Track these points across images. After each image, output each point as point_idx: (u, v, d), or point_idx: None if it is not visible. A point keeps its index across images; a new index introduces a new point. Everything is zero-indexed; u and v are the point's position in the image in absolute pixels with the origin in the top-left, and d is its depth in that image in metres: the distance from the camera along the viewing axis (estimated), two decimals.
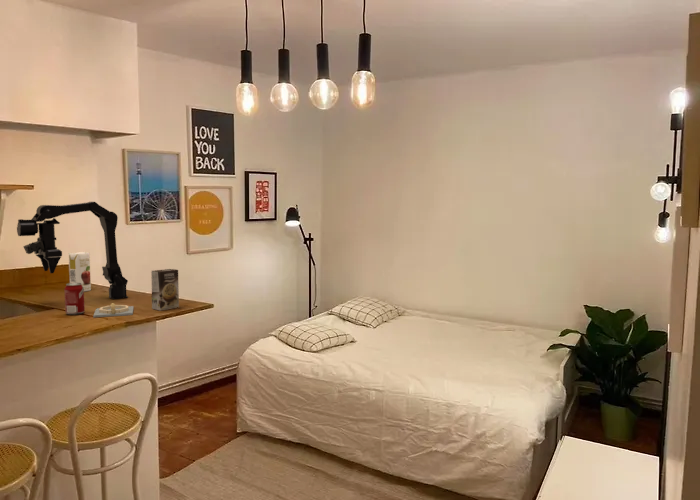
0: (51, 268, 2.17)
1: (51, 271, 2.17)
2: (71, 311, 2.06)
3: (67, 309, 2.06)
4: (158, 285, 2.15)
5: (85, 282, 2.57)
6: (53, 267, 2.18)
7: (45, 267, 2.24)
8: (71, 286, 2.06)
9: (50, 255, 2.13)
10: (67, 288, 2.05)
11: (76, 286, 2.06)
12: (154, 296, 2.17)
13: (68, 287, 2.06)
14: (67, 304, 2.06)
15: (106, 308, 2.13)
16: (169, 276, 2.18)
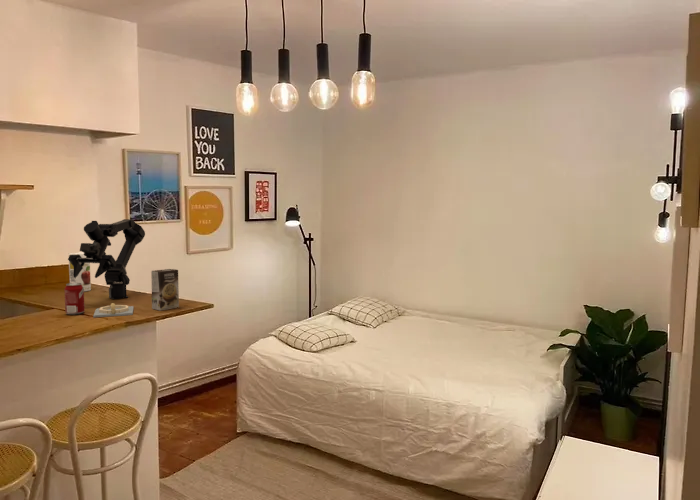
0: (98, 272, 2.17)
1: (97, 275, 2.16)
2: (71, 311, 2.06)
3: (67, 309, 2.06)
4: (158, 285, 2.15)
5: (85, 282, 2.57)
6: (100, 273, 2.18)
7: (76, 274, 2.17)
8: (71, 286, 2.06)
9: (111, 260, 2.19)
10: (67, 288, 2.05)
11: (76, 286, 2.06)
12: (154, 296, 2.17)
13: (68, 287, 2.06)
14: (67, 304, 2.06)
15: (106, 308, 2.13)
16: (169, 276, 2.18)
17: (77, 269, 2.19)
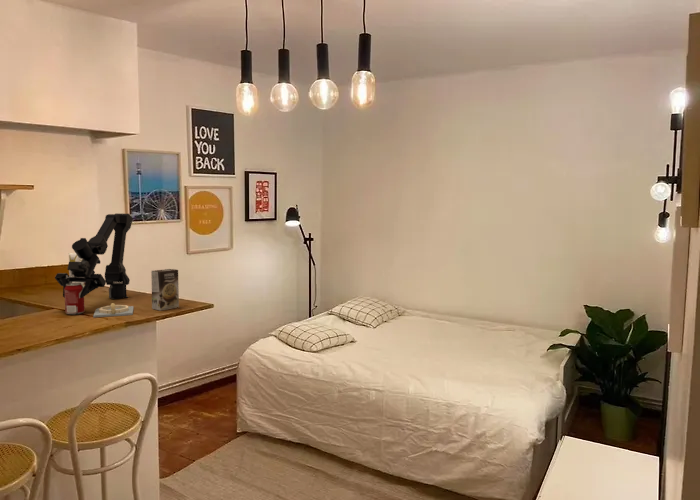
0: (84, 292, 2.08)
1: (82, 295, 2.07)
2: (71, 311, 2.06)
3: (67, 309, 2.06)
4: (158, 285, 2.15)
5: None
6: (86, 293, 2.09)
7: None
8: (71, 286, 2.06)
9: (100, 279, 2.10)
10: (67, 288, 2.05)
11: (76, 286, 2.06)
12: (154, 296, 2.17)
13: (68, 287, 2.06)
14: (67, 304, 2.06)
15: (106, 308, 2.13)
16: (169, 276, 2.18)
17: None
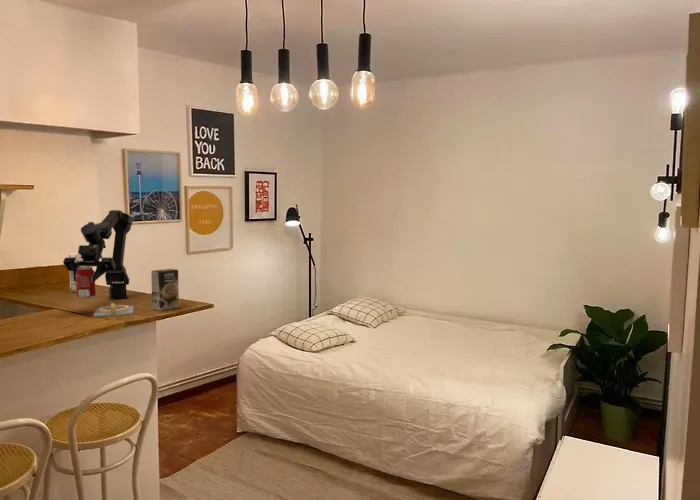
0: (96, 276, 2.08)
1: (94, 279, 2.07)
2: (83, 295, 2.05)
3: (79, 293, 2.05)
4: (158, 285, 2.15)
5: None
6: (97, 276, 2.09)
7: None
8: (83, 270, 2.05)
9: (112, 263, 2.11)
10: (79, 272, 2.05)
11: (88, 270, 2.06)
12: (154, 296, 2.17)
13: (80, 271, 2.05)
14: (79, 288, 2.05)
15: (106, 308, 2.13)
16: (169, 276, 2.18)
17: None
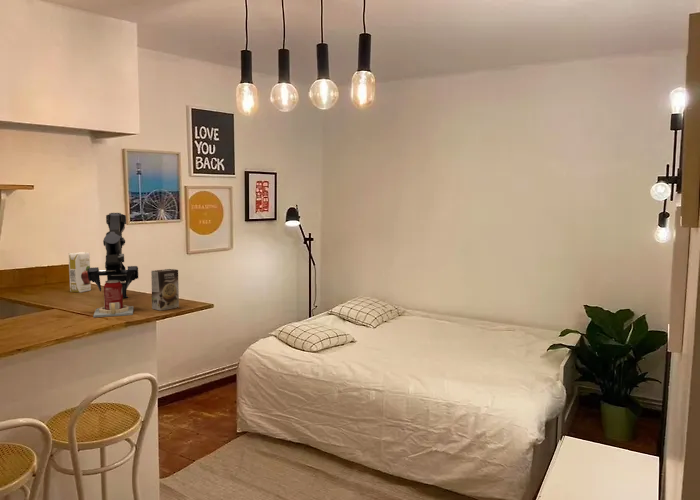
0: (127, 284, 2.12)
1: (126, 287, 2.11)
2: (115, 308, 2.09)
3: (110, 306, 2.08)
4: (158, 285, 2.15)
5: (85, 282, 2.57)
6: (128, 285, 2.13)
7: (100, 287, 2.09)
8: (114, 283, 2.08)
9: None
10: (110, 285, 2.07)
11: (118, 283, 2.10)
12: (154, 296, 2.17)
13: (111, 284, 2.08)
14: (110, 301, 2.08)
15: None
16: (169, 276, 2.18)
17: None
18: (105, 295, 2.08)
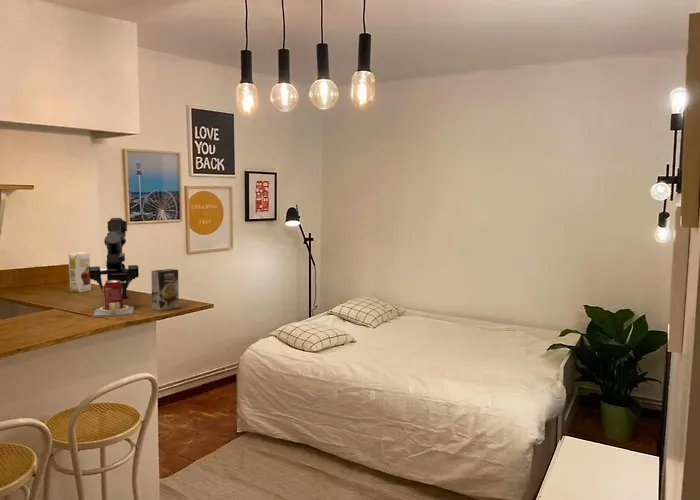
0: (128, 283, 2.18)
1: (127, 286, 2.17)
2: (115, 308, 2.09)
3: (110, 306, 2.08)
4: (158, 285, 2.15)
5: (85, 282, 2.57)
6: (128, 283, 2.19)
7: None
8: (114, 283, 2.08)
9: None
10: (110, 285, 2.07)
11: (118, 283, 2.10)
12: (154, 296, 2.17)
13: (111, 284, 2.08)
14: (110, 301, 2.08)
15: None
16: (169, 276, 2.18)
17: (101, 281, 2.16)
18: (105, 295, 2.08)
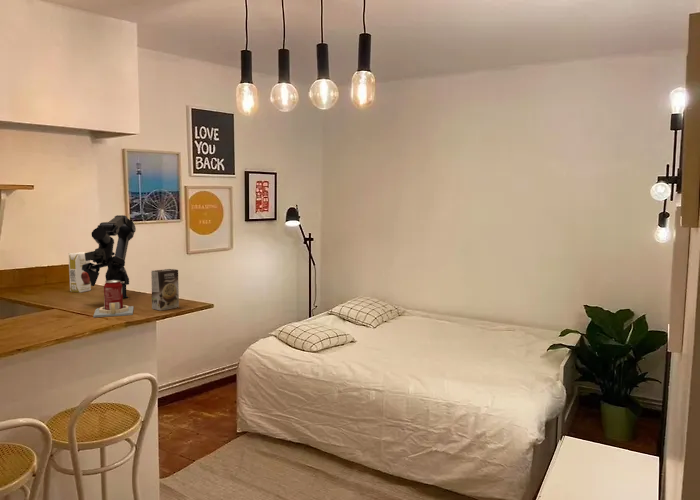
0: (110, 276, 2.18)
1: (109, 279, 2.17)
2: (115, 308, 2.09)
3: (110, 306, 2.08)
4: (158, 285, 2.15)
5: (85, 282, 2.57)
6: (112, 276, 2.19)
7: (93, 282, 2.21)
8: (114, 283, 2.08)
9: (117, 260, 2.18)
10: (110, 285, 2.07)
11: (118, 283, 2.10)
12: (154, 296, 2.17)
13: (111, 284, 2.08)
14: (110, 301, 2.08)
15: None
16: (169, 276, 2.18)
17: (93, 277, 2.22)
18: (105, 295, 2.08)
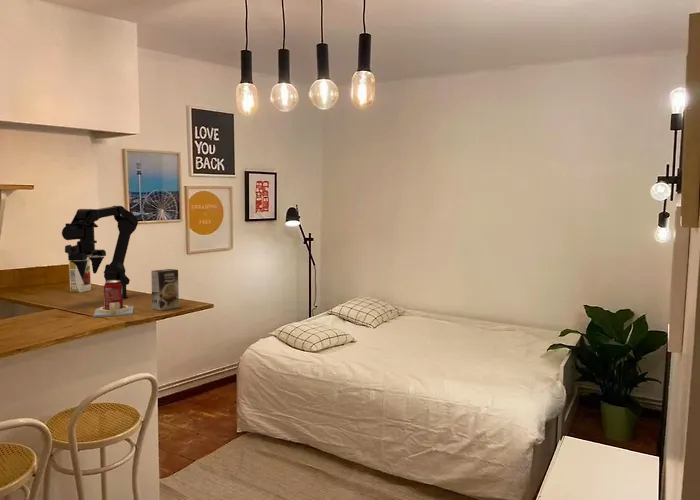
0: (80, 271, 2.20)
1: (81, 274, 2.20)
2: (115, 308, 2.09)
3: (110, 306, 2.08)
4: (158, 285, 2.15)
5: (85, 282, 2.57)
6: (82, 270, 2.19)
7: (94, 269, 2.29)
8: (114, 283, 2.08)
9: (71, 258, 2.15)
10: (110, 285, 2.07)
11: (118, 283, 2.10)
12: (154, 296, 2.17)
13: (111, 284, 2.08)
14: (110, 301, 2.08)
15: None
16: (169, 276, 2.18)
17: (94, 264, 2.29)
18: (105, 295, 2.08)
